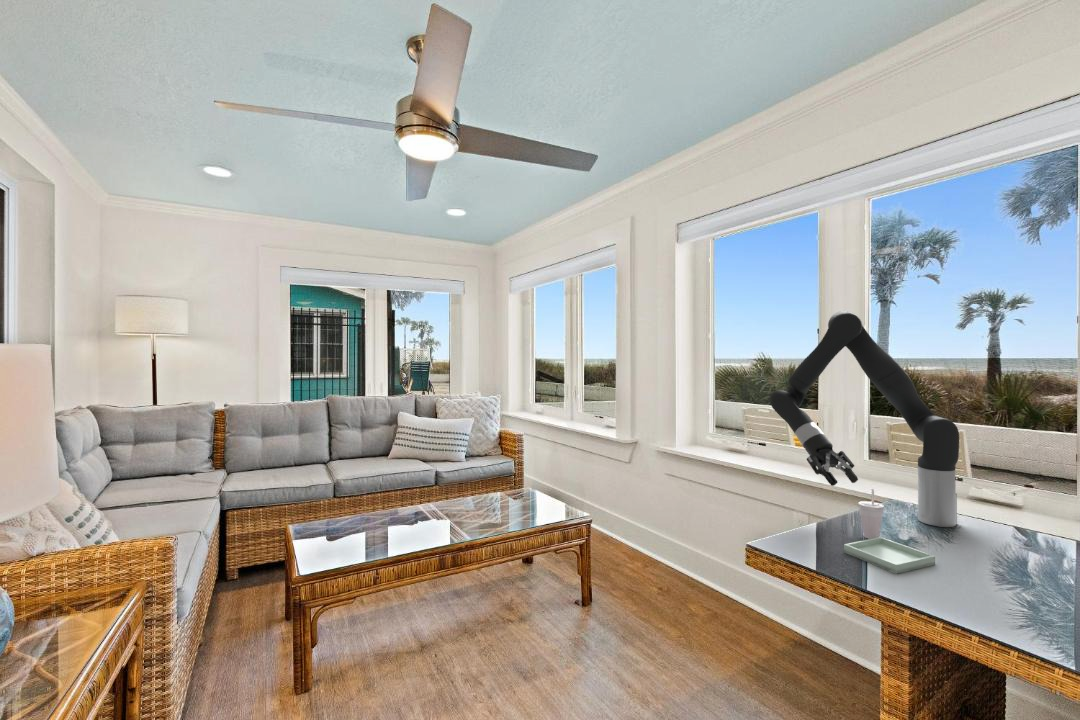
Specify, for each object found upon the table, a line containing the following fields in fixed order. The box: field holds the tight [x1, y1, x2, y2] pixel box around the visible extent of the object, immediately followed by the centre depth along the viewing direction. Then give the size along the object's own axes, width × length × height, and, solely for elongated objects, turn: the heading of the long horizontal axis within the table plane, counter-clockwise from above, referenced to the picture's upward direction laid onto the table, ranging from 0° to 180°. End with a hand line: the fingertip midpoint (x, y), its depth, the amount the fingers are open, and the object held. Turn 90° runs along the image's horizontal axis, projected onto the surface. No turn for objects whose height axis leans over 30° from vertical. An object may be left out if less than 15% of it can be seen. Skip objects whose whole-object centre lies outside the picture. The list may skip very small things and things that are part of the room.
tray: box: [843, 536, 936, 575], centre depth 129 cm, size 14×14×2 cm
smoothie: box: [857, 488, 885, 540], centre depth 144 cm, size 6×6×14 cm
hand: (845, 483), depth 151 cm, fingers open, 8 cm apart
